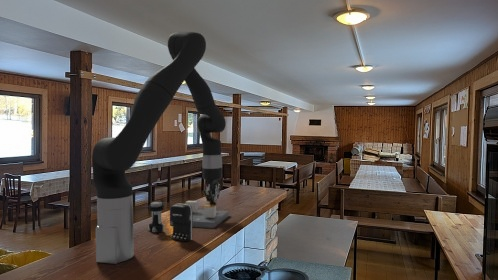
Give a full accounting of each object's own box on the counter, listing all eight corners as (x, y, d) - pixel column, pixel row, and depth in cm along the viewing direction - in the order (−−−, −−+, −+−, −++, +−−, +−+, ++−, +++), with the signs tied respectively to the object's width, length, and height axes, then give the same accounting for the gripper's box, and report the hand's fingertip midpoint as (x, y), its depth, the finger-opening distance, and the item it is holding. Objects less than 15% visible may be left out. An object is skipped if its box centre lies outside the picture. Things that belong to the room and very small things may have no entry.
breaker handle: (214, 217, 132) (213, 206, 131) (203, 217, 133) (203, 206, 132) (216, 216, 134) (216, 205, 134) (206, 215, 135) (206, 204, 135)
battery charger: (168, 240, 113) (167, 204, 113) (175, 237, 117) (175, 202, 116) (186, 243, 110) (185, 206, 110) (193, 239, 114) (193, 204, 113)
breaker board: (213, 228, 127) (213, 210, 127) (169, 225, 131) (169, 207, 131) (228, 215, 144) (228, 199, 144) (189, 213, 148) (189, 198, 148)
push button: (142, 232, 123) (141, 203, 122) (153, 228, 128) (152, 200, 127) (157, 234, 120) (156, 205, 119) (167, 230, 124) (167, 202, 124)
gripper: (215, 169, 129) (216, 216, 130) (227, 164, 141) (227, 207, 142) (196, 168, 130) (197, 215, 131) (209, 164, 143) (210, 206, 144)
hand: (213, 211), depth 137 cm, fingers closed
